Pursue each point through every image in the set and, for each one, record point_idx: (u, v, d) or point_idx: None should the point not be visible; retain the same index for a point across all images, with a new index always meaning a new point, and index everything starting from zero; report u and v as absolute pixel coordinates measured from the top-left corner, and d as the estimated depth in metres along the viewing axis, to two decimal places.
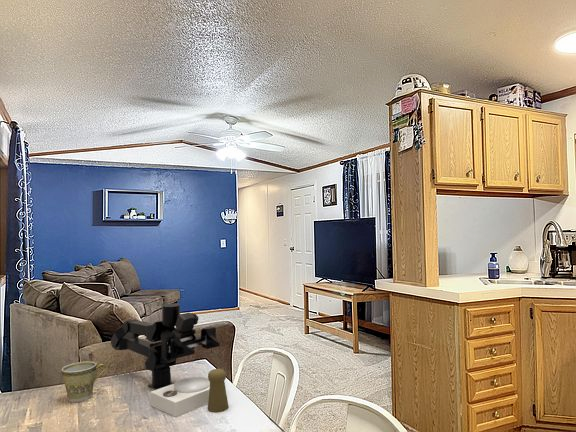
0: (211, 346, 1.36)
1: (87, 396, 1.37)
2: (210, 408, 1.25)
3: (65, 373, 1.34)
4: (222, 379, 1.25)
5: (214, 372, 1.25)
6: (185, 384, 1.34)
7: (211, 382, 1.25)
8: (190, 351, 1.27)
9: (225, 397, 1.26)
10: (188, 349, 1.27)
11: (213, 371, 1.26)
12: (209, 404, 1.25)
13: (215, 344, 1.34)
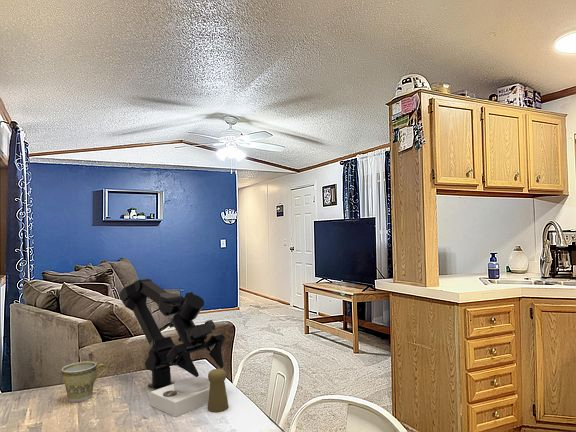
0: (214, 359, 1.35)
1: (87, 396, 1.37)
2: (210, 408, 1.25)
3: (65, 373, 1.34)
4: (222, 379, 1.25)
5: (214, 372, 1.25)
6: (185, 384, 1.34)
7: (211, 382, 1.25)
8: (194, 373, 1.26)
9: (225, 397, 1.26)
10: (193, 369, 1.26)
11: (213, 371, 1.26)
12: (209, 404, 1.25)
13: (219, 363, 1.33)
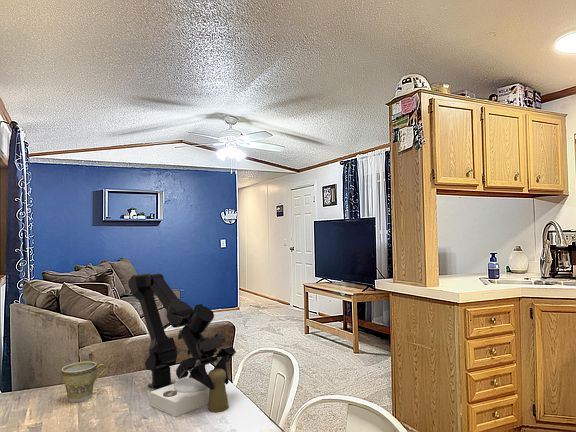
0: None
1: (87, 396, 1.37)
2: (210, 408, 1.25)
3: (65, 373, 1.34)
4: (222, 379, 1.25)
5: (214, 372, 1.25)
6: (185, 384, 1.34)
7: None
8: (210, 386, 1.24)
9: (225, 397, 1.26)
10: (209, 382, 1.24)
11: (213, 371, 1.26)
12: (209, 404, 1.25)
13: None
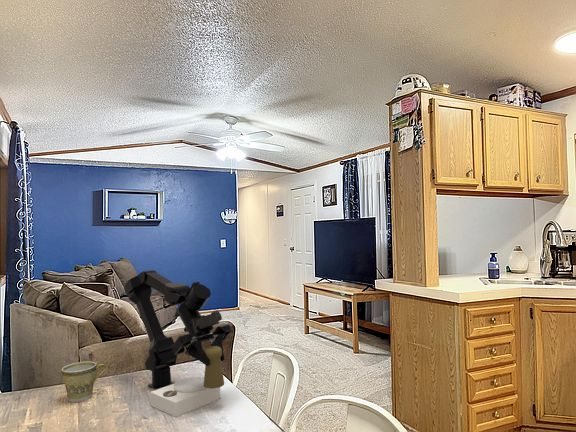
0: None
1: (87, 396, 1.37)
2: (206, 384, 1.26)
3: (65, 373, 1.34)
4: (218, 356, 1.26)
5: (210, 349, 1.26)
6: (185, 384, 1.34)
7: None
8: (206, 362, 1.25)
9: (221, 374, 1.27)
10: (205, 358, 1.25)
11: (209, 348, 1.27)
12: (205, 380, 1.26)
13: None
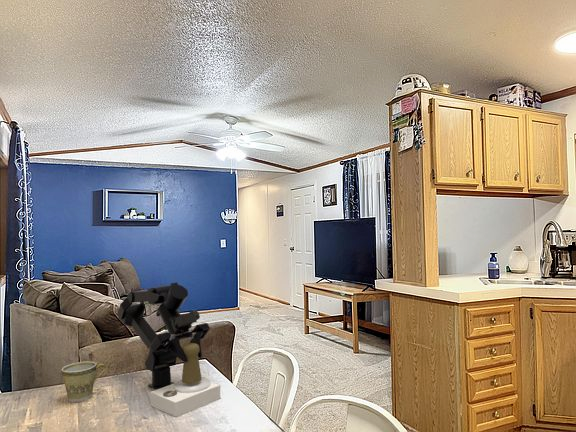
0: None
1: (87, 396, 1.37)
2: (184, 379, 1.32)
3: (65, 373, 1.34)
4: (195, 352, 1.33)
5: (187, 346, 1.33)
6: (185, 384, 1.34)
7: None
8: (184, 358, 1.32)
9: (198, 369, 1.34)
10: (182, 355, 1.32)
11: (187, 345, 1.34)
12: (183, 376, 1.33)
13: (198, 353, 1.36)
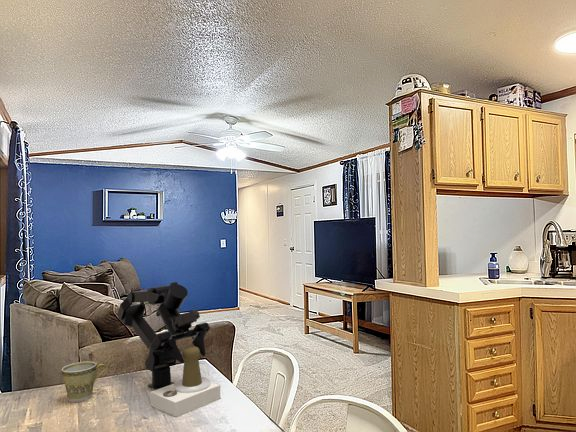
0: None
1: (87, 396, 1.37)
2: (184, 383, 1.32)
3: (65, 373, 1.34)
4: (196, 356, 1.33)
5: (188, 349, 1.33)
6: None
7: (185, 358, 1.33)
8: (180, 359, 1.31)
9: (198, 373, 1.33)
10: (179, 356, 1.31)
11: (187, 348, 1.33)
12: (183, 379, 1.33)
13: (201, 352, 1.37)
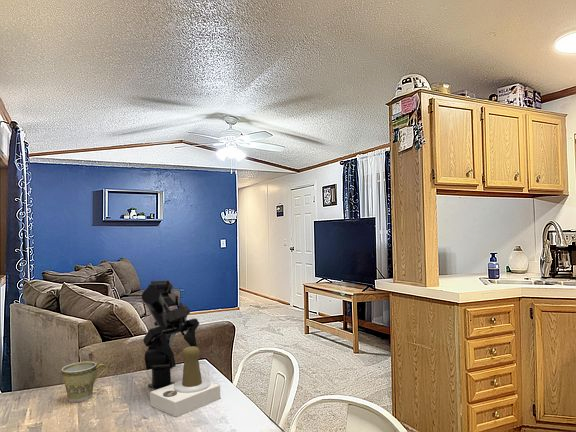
0: (188, 342, 1.44)
1: (87, 396, 1.37)
2: (184, 383, 1.32)
3: (65, 373, 1.34)
4: (195, 355, 1.33)
5: (188, 349, 1.33)
6: None
7: (185, 358, 1.33)
8: (170, 353, 1.35)
9: (198, 373, 1.34)
10: (169, 350, 1.35)
11: (187, 348, 1.34)
12: (183, 379, 1.33)
13: None
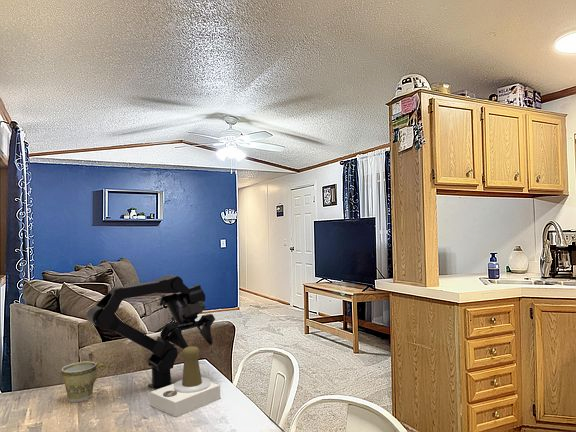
0: (204, 337, 1.48)
1: (87, 396, 1.37)
2: (184, 383, 1.32)
3: (65, 373, 1.34)
4: (195, 355, 1.33)
5: (187, 349, 1.33)
6: None
7: (185, 358, 1.33)
8: None
9: (198, 373, 1.33)
10: (184, 345, 1.39)
11: (187, 348, 1.34)
12: (183, 379, 1.33)
13: (208, 340, 1.46)
